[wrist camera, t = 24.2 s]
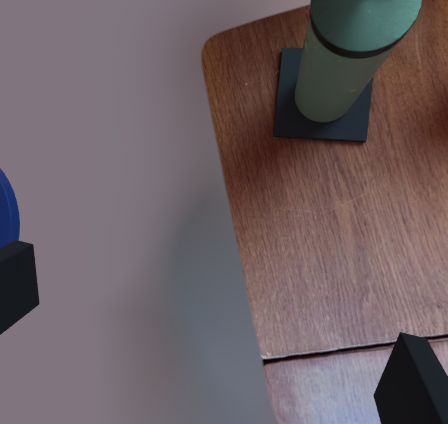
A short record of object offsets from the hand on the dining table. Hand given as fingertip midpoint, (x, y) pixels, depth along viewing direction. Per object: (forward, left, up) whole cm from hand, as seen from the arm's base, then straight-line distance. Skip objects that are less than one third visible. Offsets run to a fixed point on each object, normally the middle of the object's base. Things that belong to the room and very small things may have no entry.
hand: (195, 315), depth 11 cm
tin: (+7, +18, -24) cm, 31 cm away
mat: (+7, +18, -25) cm, 31 cm away
